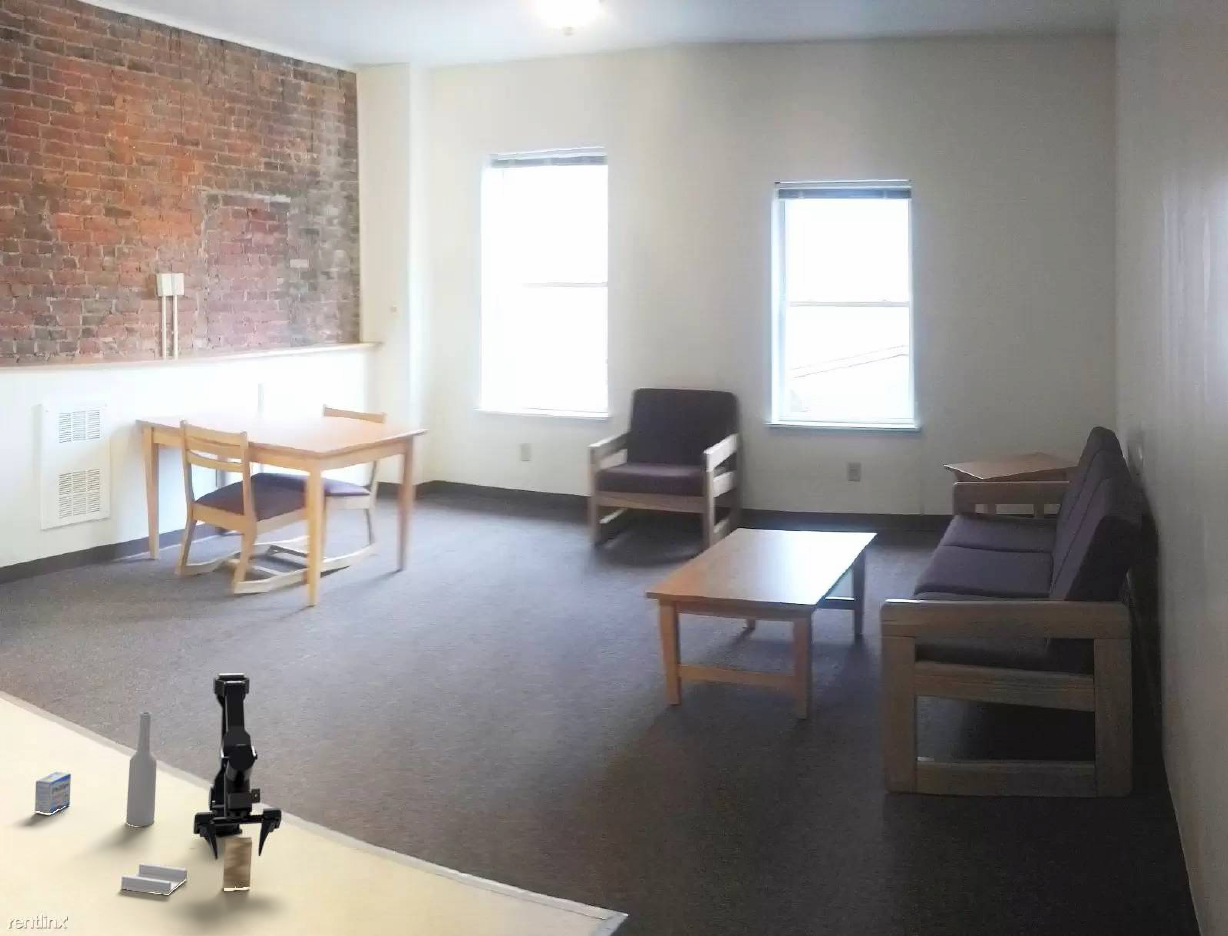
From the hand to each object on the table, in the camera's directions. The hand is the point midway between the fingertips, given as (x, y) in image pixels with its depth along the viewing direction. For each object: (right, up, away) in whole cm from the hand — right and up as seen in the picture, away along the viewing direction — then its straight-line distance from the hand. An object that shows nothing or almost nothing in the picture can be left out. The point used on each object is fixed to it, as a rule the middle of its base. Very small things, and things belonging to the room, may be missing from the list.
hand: (238, 857), depth 263 cm
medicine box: (-59, -1, +38) cm, 71 cm away
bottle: (-36, -3, +34) cm, 50 cm away
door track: (-19, -6, 0) cm, 20 cm away
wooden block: (-1, -7, +1) cm, 8 cm away
